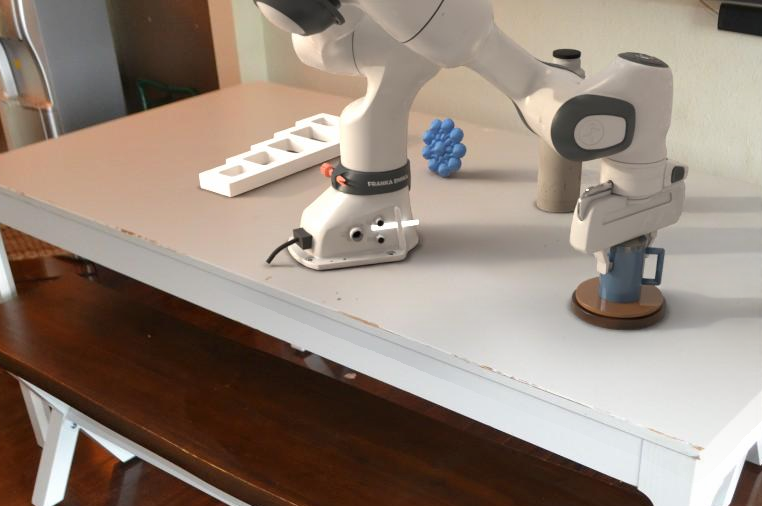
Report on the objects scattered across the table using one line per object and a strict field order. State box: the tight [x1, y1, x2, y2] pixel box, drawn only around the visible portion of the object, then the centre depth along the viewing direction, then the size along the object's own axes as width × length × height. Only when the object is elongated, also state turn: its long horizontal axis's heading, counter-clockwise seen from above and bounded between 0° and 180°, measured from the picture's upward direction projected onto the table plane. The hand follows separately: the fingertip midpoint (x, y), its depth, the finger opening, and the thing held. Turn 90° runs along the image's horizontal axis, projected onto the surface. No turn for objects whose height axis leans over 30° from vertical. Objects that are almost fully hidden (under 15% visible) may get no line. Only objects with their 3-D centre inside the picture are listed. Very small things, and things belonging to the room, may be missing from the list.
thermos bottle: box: [536, 48, 587, 214], centre depth 177 cm, size 8×8×28 cm
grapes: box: [421, 117, 467, 178], centre depth 195 cm, size 12×7×12 cm, turn 45°
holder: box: [198, 112, 341, 198], centre depth 207 cm, size 45×18×3 cm, turn 143°
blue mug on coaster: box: [575, 235, 666, 318], centre depth 145 cm, size 13×13×10 cm
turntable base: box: [570, 289, 667, 331], centre depth 148 cm, size 14×14×2 cm
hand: (623, 265), depth 145 cm, fingers closed on blue mug on coaster, 6 cm apart
